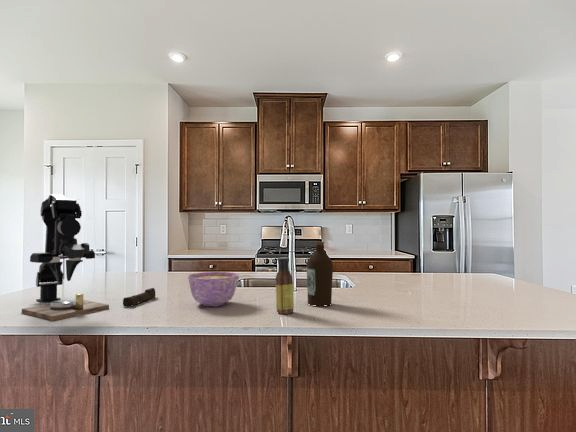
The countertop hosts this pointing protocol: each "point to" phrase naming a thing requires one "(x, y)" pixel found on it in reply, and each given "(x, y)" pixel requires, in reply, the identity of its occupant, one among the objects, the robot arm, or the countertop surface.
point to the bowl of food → (213, 287)
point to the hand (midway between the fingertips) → (63, 281)
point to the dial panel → (63, 310)
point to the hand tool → (139, 298)
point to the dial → (68, 303)
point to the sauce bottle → (284, 287)
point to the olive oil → (319, 277)
